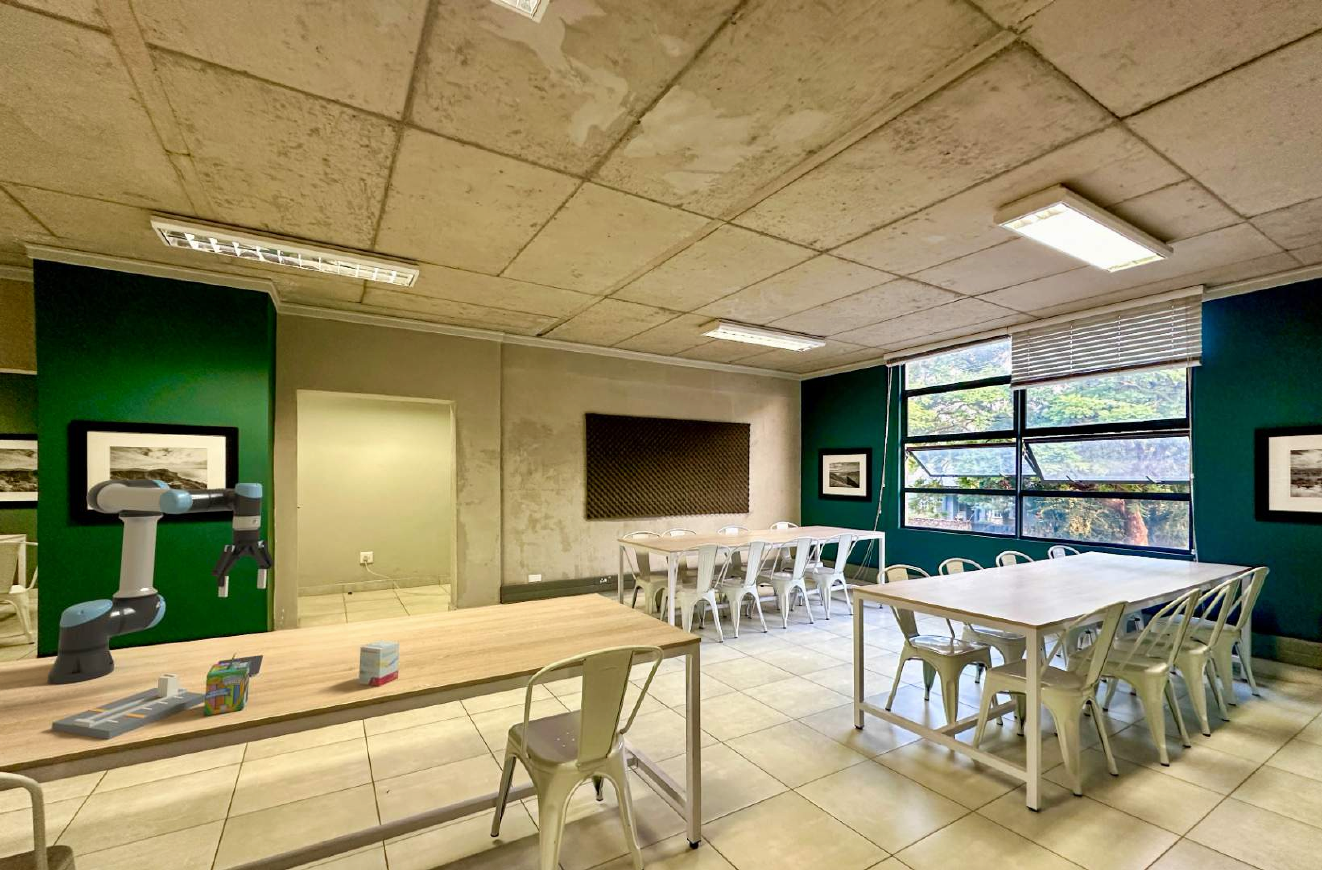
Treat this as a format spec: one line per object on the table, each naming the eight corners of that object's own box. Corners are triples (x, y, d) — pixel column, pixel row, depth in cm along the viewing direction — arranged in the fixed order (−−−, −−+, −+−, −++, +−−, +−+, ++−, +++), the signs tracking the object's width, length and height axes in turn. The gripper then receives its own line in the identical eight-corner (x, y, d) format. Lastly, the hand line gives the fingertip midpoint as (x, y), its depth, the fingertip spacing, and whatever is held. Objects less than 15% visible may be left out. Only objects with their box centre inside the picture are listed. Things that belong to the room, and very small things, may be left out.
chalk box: (209, 705, 160) (213, 653, 161) (248, 699, 165) (251, 648, 166) (202, 717, 152) (205, 662, 153) (243, 710, 157) (246, 657, 158)
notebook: (218, 665, 194) (209, 685, 176) (219, 660, 194) (209, 680, 176) (263, 659, 201) (258, 677, 183) (263, 654, 201) (258, 672, 183)
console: (51, 730, 144) (52, 717, 144) (154, 694, 167) (155, 683, 167) (109, 739, 139) (110, 726, 139) (206, 701, 163) (206, 690, 163)
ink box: (399, 677, 183) (400, 641, 183) (378, 687, 175) (379, 649, 175) (379, 674, 185) (380, 638, 186) (357, 683, 177) (359, 646, 178)
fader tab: (157, 696, 160) (158, 676, 161) (168, 692, 163) (169, 673, 164) (166, 697, 160) (168, 678, 160) (177, 693, 163) (179, 674, 163)
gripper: (218, 532, 173) (214, 601, 172) (287, 525, 198) (284, 585, 196) (199, 532, 175) (195, 599, 173) (270, 525, 199) (267, 584, 198)
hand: (242, 592), depth 185 cm, fingers open, 13 cm apart
